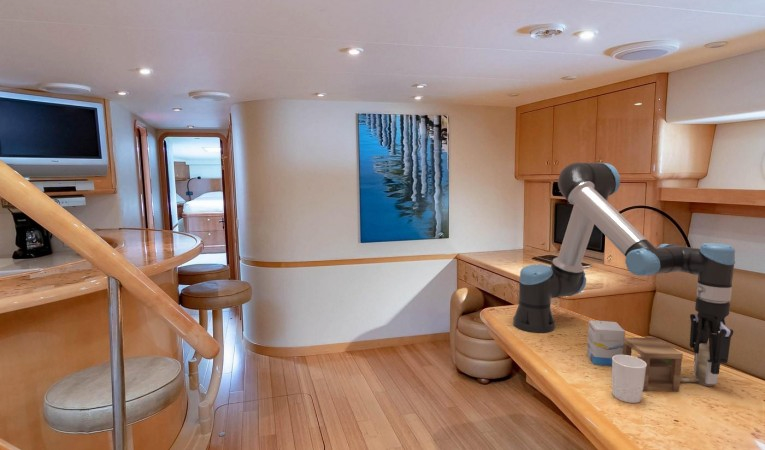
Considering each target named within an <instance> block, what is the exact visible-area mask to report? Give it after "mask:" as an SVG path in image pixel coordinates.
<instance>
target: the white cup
mask: <svg viewBox="0 0 765 450" xmlns="http://www.w3.org/2000/svg"><path fill="white" fill-rule="evenodd" d="M637 357H638V356H637ZM637 357H636V356H634V355H633V356H632V355H631V356H629V355H615V356H613V357H612V366H611V385H612V389H611V390H612V395H613V396H614V398H615V399H617V400H620V401H622V402H625V403H629V404H630V403H631V404H637V403H640V402H641V401H642V398H643V397H642V396H643V392H644V391H643V387H644V381H645V373H646V366H647V364H646V362H645V361H643V360H641V359H639V358H637Z"/></svg>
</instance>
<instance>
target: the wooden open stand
mask: <svg viewBox="0 0 765 450" xmlns="http://www.w3.org/2000/svg"><path fill="white" fill-rule="evenodd" d="M623 342H624V344H623V355H629V356H632V352H633V351H634V352H636V353H637V354H639V355H640V357H641V358H640V359H641V360H643V361H645V362H646V364H647V366H646V373H645V381H644V387H643V391H642V392H648V391H653V392H654V391H655V392H657V391H658V392H659V391H660V392H661V391H663V392H674V393H675V392H678V393H679V392H680V384H681V382H680V378H681V374H682V363H683V362H682V361H683V358H684V357H683V356H684V354H683V353H682V352H681V351H679V350H677V349H676V348H675V347H673V346H671V345H670V344H669V343H667V342H665V341H664V340H663V339H660V338H658V337H625V338H624V339H623ZM632 350H633V351H632ZM650 358H663V359H672V362H671V365H670V366H671V374H670V382H648V377H649V365H650Z"/></svg>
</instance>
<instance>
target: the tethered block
mask: <svg viewBox="0 0 765 450" xmlns="http://www.w3.org/2000/svg"><path fill="white" fill-rule="evenodd" d="M637 358H639V359H640V358H641V356H639V357H638V356H637ZM707 360H710V352H709V342H707V343H700V344H699V354H698V364H697V375H696V377H680V383H683V382H684V383H686V382H687V383H697V384H699V385H701V386H705V387H714V385H715V384H706V383H705V378H706V368H707ZM670 374H671V365H668V364H667V363H665V362H664V361H663V360H661V359H660V358H650V365H649V377H648V382H670Z"/></svg>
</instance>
